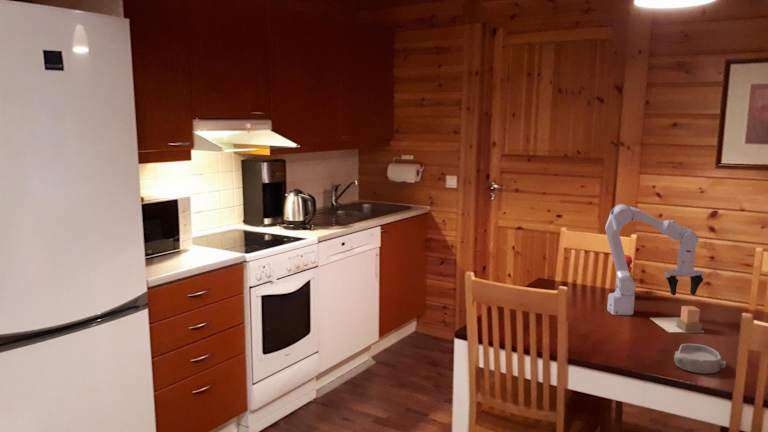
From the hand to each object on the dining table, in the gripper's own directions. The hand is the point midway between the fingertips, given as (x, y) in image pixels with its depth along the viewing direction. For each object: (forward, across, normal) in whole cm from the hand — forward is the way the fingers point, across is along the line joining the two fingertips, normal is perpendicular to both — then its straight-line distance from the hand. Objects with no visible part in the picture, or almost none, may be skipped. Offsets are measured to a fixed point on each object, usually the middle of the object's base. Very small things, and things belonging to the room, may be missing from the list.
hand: (682, 294), depth 226 cm
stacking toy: (+10, -10, +28) cm, 31 cm away
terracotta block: (+6, -4, -13) cm, 15 cm away
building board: (+10, -6, -8) cm, 15 cm away
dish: (+10, -17, -42) cm, 46 cm away
